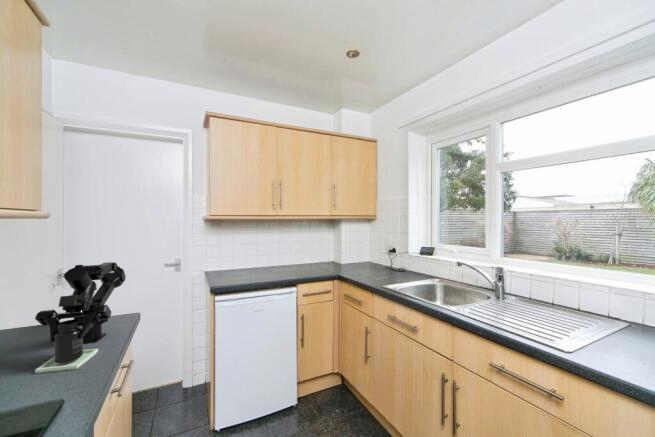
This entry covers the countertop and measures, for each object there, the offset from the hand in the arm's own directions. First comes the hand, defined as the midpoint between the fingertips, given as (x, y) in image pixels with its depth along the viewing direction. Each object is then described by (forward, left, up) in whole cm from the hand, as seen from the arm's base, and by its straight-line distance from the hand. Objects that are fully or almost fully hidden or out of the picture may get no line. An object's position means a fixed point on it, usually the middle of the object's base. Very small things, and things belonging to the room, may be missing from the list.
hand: (66, 340), depth 87 cm
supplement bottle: (-1, 0, -7) cm, 7 cm away
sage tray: (-1, 0, -8) cm, 8 cm away
